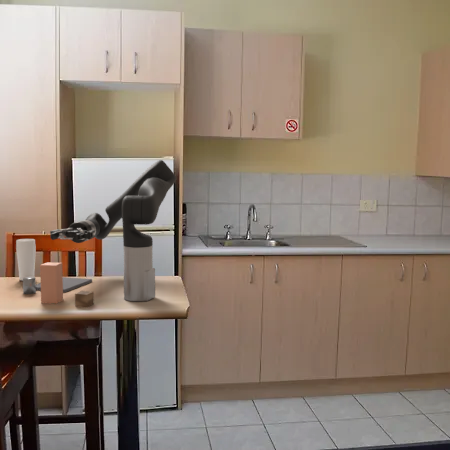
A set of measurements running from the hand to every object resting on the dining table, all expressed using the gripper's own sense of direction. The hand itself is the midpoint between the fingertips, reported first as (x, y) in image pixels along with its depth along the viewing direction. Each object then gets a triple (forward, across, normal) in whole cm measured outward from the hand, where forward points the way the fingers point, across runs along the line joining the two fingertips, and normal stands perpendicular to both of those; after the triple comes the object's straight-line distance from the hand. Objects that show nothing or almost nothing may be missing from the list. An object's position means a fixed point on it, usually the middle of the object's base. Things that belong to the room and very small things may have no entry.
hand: (64, 237), depth 181 cm
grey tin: (+1, +12, -19) cm, 23 cm away
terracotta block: (+12, 0, -19) cm, 22 cm away
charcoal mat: (-11, +6, -19) cm, 23 cm away
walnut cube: (+14, -12, -19) cm, 27 cm away
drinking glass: (-19, +23, -19) cm, 35 cm away
